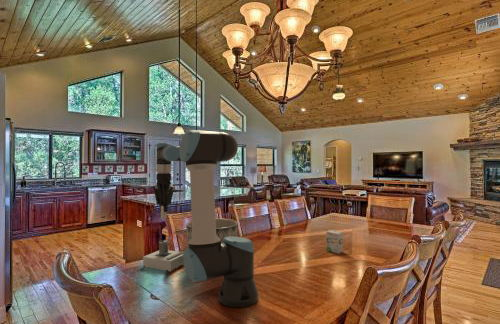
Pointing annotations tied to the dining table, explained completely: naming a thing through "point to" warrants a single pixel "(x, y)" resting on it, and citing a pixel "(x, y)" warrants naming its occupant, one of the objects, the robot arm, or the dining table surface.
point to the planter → (218, 229)
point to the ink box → (334, 241)
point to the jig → (164, 260)
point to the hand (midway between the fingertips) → (163, 218)
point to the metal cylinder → (163, 248)
